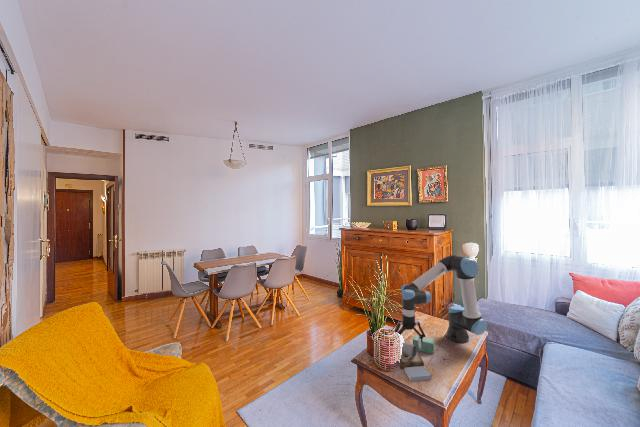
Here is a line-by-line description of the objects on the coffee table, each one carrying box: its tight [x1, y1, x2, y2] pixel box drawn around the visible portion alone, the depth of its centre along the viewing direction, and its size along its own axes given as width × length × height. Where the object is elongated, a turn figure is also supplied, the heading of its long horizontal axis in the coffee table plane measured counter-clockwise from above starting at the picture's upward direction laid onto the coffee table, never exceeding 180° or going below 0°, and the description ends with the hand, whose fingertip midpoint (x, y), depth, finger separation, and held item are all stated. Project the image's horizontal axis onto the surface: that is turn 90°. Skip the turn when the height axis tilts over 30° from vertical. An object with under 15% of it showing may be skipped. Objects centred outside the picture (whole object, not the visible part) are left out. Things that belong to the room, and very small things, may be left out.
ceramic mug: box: [401, 342, 418, 360], centre depth 170 cm, size 11×8×8 cm
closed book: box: [403, 365, 432, 382], centre depth 158 cm, size 12×9×2 cm
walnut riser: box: [399, 351, 425, 370], centre depth 171 cm, size 14×14×4 cm
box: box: [412, 335, 435, 355], centre depth 186 cm, size 7×14×8 cm, turn 65°
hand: (409, 347), depth 171 cm, fingers open, 13 cm apart
